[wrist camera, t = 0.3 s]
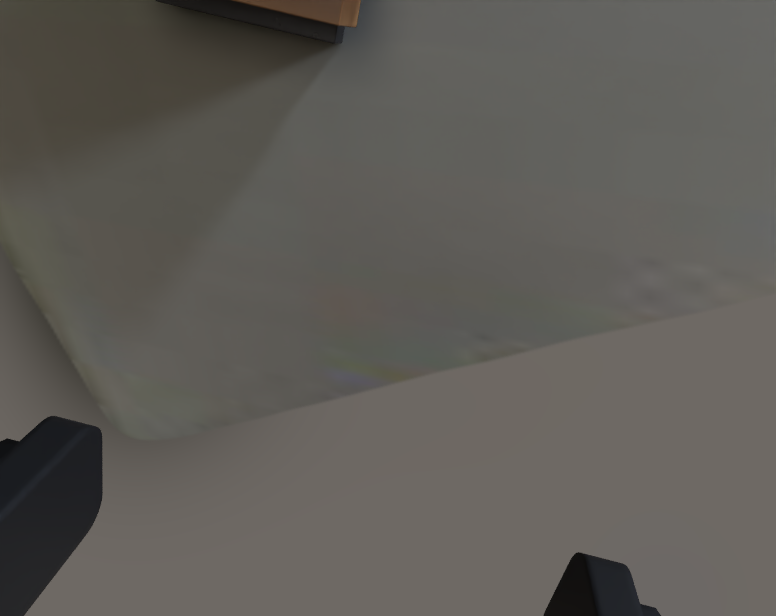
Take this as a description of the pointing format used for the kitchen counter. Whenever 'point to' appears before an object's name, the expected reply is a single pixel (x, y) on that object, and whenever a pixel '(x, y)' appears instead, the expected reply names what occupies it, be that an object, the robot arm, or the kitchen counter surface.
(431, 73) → the kitchen counter surface
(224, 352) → the kitchen counter surface
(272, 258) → the kitchen counter surface
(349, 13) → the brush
